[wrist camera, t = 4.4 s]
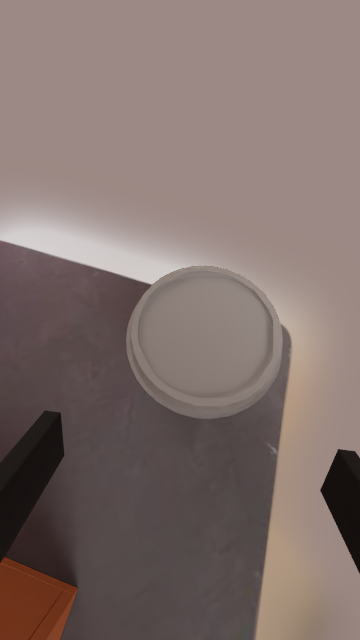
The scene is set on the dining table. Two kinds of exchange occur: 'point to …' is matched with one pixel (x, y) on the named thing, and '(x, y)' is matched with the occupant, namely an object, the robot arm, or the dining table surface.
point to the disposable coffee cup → (204, 342)
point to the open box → (32, 603)
